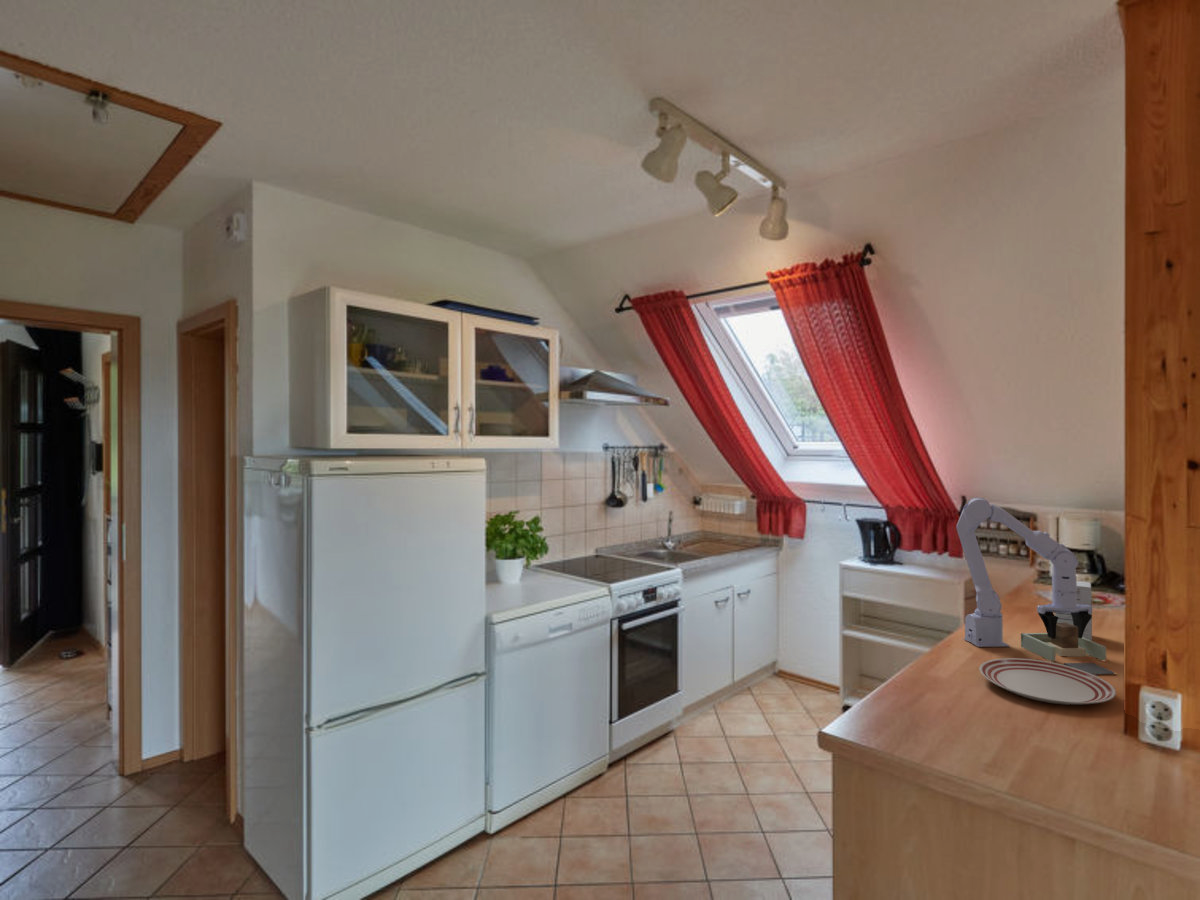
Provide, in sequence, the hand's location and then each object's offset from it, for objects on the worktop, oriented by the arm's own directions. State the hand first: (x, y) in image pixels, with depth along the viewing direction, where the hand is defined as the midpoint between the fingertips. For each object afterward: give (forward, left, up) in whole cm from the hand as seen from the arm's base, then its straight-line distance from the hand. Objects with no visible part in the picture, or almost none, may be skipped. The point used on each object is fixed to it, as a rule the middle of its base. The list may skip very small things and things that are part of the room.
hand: (1064, 637), depth 182 cm
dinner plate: (-25, -27, -5) cm, 37 cm away
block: (0, 0, -2) cm, 2 cm away
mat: (-4, -14, -4) cm, 15 cm away
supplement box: (+13, +15, -5) cm, 21 cm away
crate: (-2, -1, -4) cm, 5 cm away
